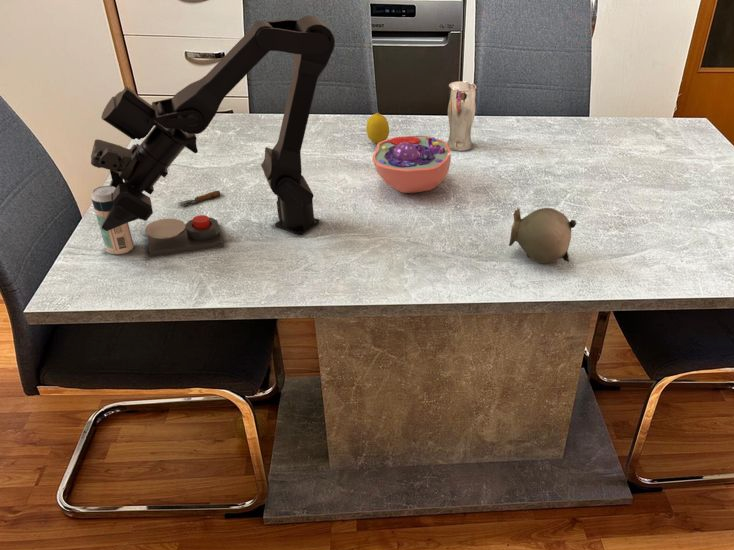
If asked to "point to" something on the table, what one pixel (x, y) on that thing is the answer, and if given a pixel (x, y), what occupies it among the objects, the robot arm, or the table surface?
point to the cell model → (412, 162)
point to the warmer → (187, 240)
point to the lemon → (377, 128)
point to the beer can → (119, 236)
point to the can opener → (202, 197)
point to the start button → (201, 222)
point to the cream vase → (461, 114)
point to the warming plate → (165, 228)
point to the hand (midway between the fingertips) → (103, 218)
